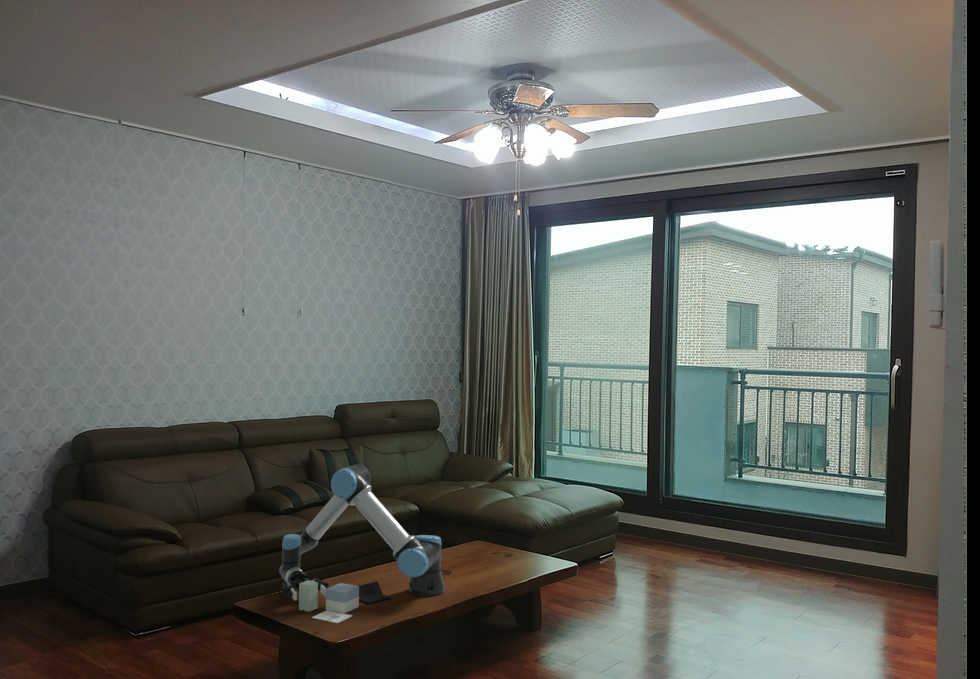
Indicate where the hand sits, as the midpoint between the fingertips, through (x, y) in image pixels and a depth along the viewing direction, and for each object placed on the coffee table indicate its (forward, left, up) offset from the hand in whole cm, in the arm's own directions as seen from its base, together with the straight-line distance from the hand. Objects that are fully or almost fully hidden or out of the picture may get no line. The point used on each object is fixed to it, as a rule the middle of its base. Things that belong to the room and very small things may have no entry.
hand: (311, 594), depth 299 cm
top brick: (+3, -2, -6) cm, 7 cm away
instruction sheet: (-11, +1, -6) cm, 13 cm away
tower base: (-8, -9, -6) cm, 14 cm away
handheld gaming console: (-12, -24, -7) cm, 28 cm away
